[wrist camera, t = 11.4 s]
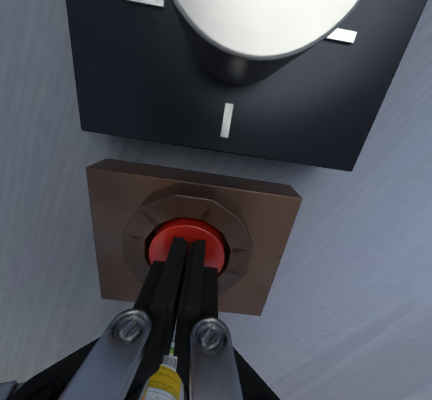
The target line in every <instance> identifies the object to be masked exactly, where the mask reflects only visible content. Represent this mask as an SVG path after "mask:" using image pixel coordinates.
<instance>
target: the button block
mask: <svg viewBox="0 0 432 400" xmlns="http://www.w3.org/2000/svg"><path fill="white" fill-rule="evenodd" d="M86 172H87V180H88V189H89V197H90V206H91V214H92V222H93V231H94V239H95V247H96V256H97V264H98V272H99V281H100V289H101V298H102V299H110V300H119V301H128V302H136V300H137V298H138V296H139V293H140V291H141V289H142V286H143V284H144V282H145V280H146V277H147V275H148V273H149V270H150V268H151V266H152V265H151V262H150V258H149V247H150V244H151V242H152V240H153V238H154V236H155V234H156V232H157V230H158V228H159V226H160V224H161V223H163V222H166V221H169V220H172V219H175V218H178V217H184V218H192V219H199V220H204V221H206V222H207V223H209V224H210V225H211V226H213V227H214V228H216V229H217V230H219V231H220V232H222V233H223V236H224V256H225V258H224V264H223V266H222V268H221V270H220V272H219V273H218V311H220V312H230V313H239V314H248V315H257V316H261V313H262V310H263V308H264V305H265V302H266V299H267V296H268V294H269V291H270V288H271V285H272V282H273V280H274V277H275V274H276V271H277V268H278V266H279V263H280V260H281V257H282V254H283V252H284V249H285V246H286V243H287V240H288V238H289V235H290V232H291V229H292V226H293V224H294V221H295V218H296V215H297V213H298V210H299V207H300V204H301V201H302V197H301V196H300V195H299V194H298V193H297V192H296V191H295V190H294V189H293V188H292V187H291V186H290V185H284V184H277V183H271V182H264V181H257V180H250V179H243V178H236V177H230V176H223V175H216V174H209V173H202V172H195V171H189V170H182V169H175V168H168V167H161V166H155V165H148V164H141V163H134V162H127V161H120V160H114V159H104V160H102V161H100V162H97V163H95V164H93V165H90V166H88V167H86Z"/></svg>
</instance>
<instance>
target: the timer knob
mask: <svg viewBox="0 0 432 400" xmlns="http://www.w3.org/2000/svg"><path fill="white" fill-rule="evenodd" d="M170 1H171V3H172V5H173V8H174V10H175V12H176V15H177V17H178V19H179V22H180V24H181V27H182V29H183V31H184V34H185V36H186V38H187V41H188V43H189V45H190V48H191V50H192V52H193V54H194V56H195V57H196V59H197V61H198V62H199V63H200V65H201V66H202V67H203V68H204V69H205V70H206V71H207V72H208V73H209V74H210V75H212V76H213V77H215V78H216V79H218V80H220V81H222V82H225V83H228V84H232V85H249V84H253V83H256V82H259V81H261V80H263V79H265V78H267V77H269V76H270V75H272V74H273V73H275V72H276V71H278V70H279V69H281V68H282V67H284V66H285V65H287V64H288V63H290V62H291V61H293V60H294V59H296V58H297V57H299V56H300V55H302V54H303V53H305V52H306V51H308V50H309V49H311V48H312V47H314V46H315V45H317V44H318V43H319V42H321V41H322V40H324V39H325V38H327V37H328V36H329V35H330V34H331V33H333V32H334V31H335V30H336V29H337V28H338V27H339V26H341V25H342V23H343V22H344V21H345V20H346V19H347V18H348V17H349V16H350V15H351V14H352V13H353V12H354V10H355V9H356V8H357V6H358V5H359V4H360V2H361V1H362V0H170Z"/></svg>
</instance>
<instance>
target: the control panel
mask: <svg viewBox="0 0 432 400" xmlns="http://www.w3.org/2000/svg"><path fill="white" fill-rule="evenodd" d="M426 2H427V0H362V1H361V2H360V4H359V5H358V6H357V8H356V9H355V10H354V12H353V13H352V14H351V15H350V16H349V17H348V18H347V19H346V20H345V21H344V22H343V23H342V25H341V26H339V27H338V28H337V29H336V30H335V31H334V32H333V33H331V34H330V35H329V36H328V37H327V38H325V39H324V40H322V41H321V42H319V43H318V44H317V45H315V46H314V47H312V48H311V49H309V50H308V51H306V52H305V53H303V54H302V55H300V56H299V57H297V58H296V59H294V60H293V61H291V62H290V63H288V64H287V65H285V66H284V67H282V68H281V69H279V70H278V71H276V72H275V73H273V74H272V75H270V76H269V77H267V78H265V79H263V80H261V81H259V82H256V83H253V84H249V85H232V84H228V83H225V82H222V81H220V80H218V79H216V78H215V77H213V76H212V75H210V74H209V73H208V72H207V71H206V70H205V69H204V68H203V67H202V66H201V65H200V63H199V62H198V61H197V59H196V57H195V56H194V54H193V52H192V50H191V48H190V45H189V43H188V41H187V38H186V36H185V34H184V31H183V29H182V27H181V24H180V22H179V19H178V17H177V15H176V12H175V10H174V8H173V5H172V3H171V1H170V0H66V5H67V14H68V22H69V30H70V39H71V47H72V55H73V64H74V72H75V80H76V89H77V97H78V105H79V114H80V122H81V129H82V130H83V131H88V132H95V133H101V134H108V135H114V136H121V137H127V138H134V139H140V140H147V141H153V142H160V143H166V144H173V145H180V146H186V147H193V148H199V149H206V150H212V151H219V152H225V153H232V154H238V155H245V156H251V157H258V158H265V159H271V160H278V161H284V162H291V163H297V164H304V165H310V166H317V167H323V168H330V169H336V170H343V171H349V172H350V171H352V170H353V168H354V165H355V163H356V161H357V159H358V156H359V154H360V152H361V149H362V147H363V145H364V143H365V140H366V138H367V136H368V134H369V131H370V129H371V127H372V125H373V122H374V120H375V118H376V116H377V113H378V111H379V109H380V106H381V104H382V102H383V100H384V97H385V95H386V93H387V91H388V88H389V86H390V84H391V82H392V79H393V77H394V75H395V72H396V70H397V68H398V66H399V63H400V61H401V59H402V57H403V54H404V52H405V50H406V48H407V45H408V43H409V41H410V39H411V36H412V34H413V32H414V29H415V27H416V25H417V23H418V20H419V18H420V16H421V14H422V11H423V9H424V7H425V5H426Z"/></svg>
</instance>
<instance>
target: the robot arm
mask: <svg viewBox="0 0 432 400" xmlns="http://www.w3.org/2000/svg"><path fill="white" fill-rule="evenodd" d="M205 249H206V240H198V239H196V242H191V247H190V252H189V257H188V262H187V266H186V259H187V250H188V241H185V238H182V237H174V238H173V241H172V244H171V247H170V250H169V253H168V256H167V258H166V261H165V262H164V261H156V260H154V261H153V263H152V266H151V268H150V270H149V273H148V275H147V277H146V280H145V282H144V284H143V286H142V289H141V291H140V293H139V296H138V298H137V300H136V303H135V305H134V307H133V309H128V310H125V311H123V312H121V313H119V314H118V315H117V316H115V317H114V319H113V320H112V321H111V322H110V324H109V325H108V326H107V328H106V329H105V331H104V332H103V334H102V335H101V337H99V338H98V339H96V340H94V341H92V342H91V343H89V344H87V345H86V346H84V347H82V348H81V349H79V350H77V351H76V352H74V353H72V354H71V355H69V356H67V357H66V358H64V359H62V360H61V361H59V362H57V363H56V364H54V365H52V366H50V367H49V368H47V369H45V370H44V371H42V372H40V373H39V374H37V375H35V376H34V377H32V378H31V379H30V380H28V381H27V382H24V383H17V381H10V382H4V383H0V400H142V398H143V396H144V393H145V390H146V388H147V385H148V382H149V378H150V377H151V376H152V375H154V374H155V373H156V372H157V371H158V370H159V368H160V364H162V363H163V359H164V355H166V356H169V354H170V349H171V344H172V339H173V334H174V329H175V324H176V319H177V324H176V334H175V343H174V353H173V356H176V357H177V365H176V373H177V374H178V376H179V377H180V379H181V380H182V382H183V400H280V399H279V398H278V397H277V395H276V394H275V393H274V392H273V391H272V390H271V389H270V388H269V387H268V385H267V384H266V383H265V382H264V381H263V380H262V379H261V378H260V376H259V375H258V374H257V373H256V372H255V371H254V370H253V369H252V368H251V366H250V365H249V364H248V363H247V362H246V361H245V360H244V359H243V357H242V356H241V355H240V354H239V353H238V352H237V351H236V350H235V349H234V347H233V345H232V340H231V335H230V332H229V329H228V327H227V326H226V325H225V323H224V322H222V321H221V320H220V319H218V268H213V267H205V266H204V260H205ZM185 268H186V271H185ZM177 314H178V315H177Z"/></svg>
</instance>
